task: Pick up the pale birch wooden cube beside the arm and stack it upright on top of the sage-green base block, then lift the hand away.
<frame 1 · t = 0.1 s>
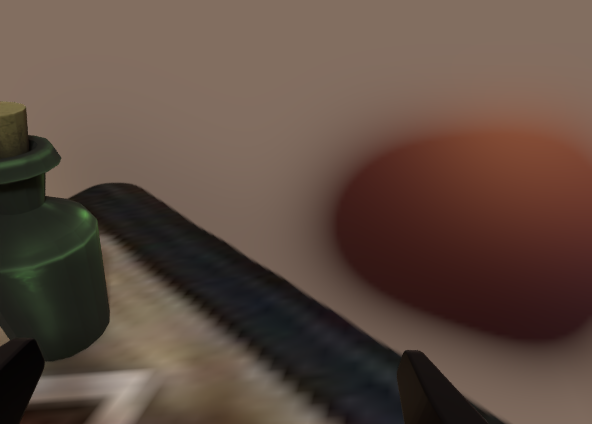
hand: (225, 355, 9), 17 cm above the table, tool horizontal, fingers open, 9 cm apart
potion bottle: (67, 331, 29), on the table
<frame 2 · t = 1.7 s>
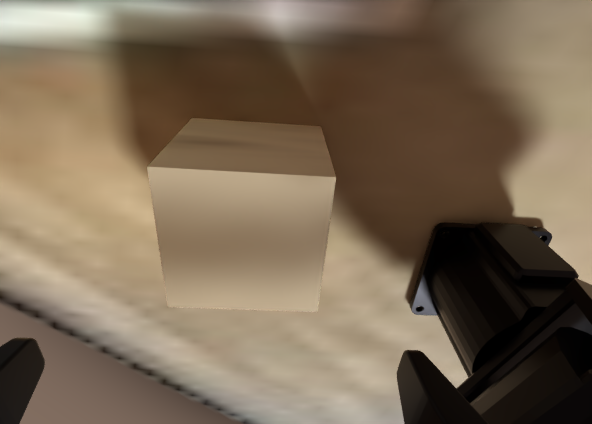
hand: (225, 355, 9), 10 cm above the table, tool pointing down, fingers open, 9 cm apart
birch cube: (256, 180, 18), on the table
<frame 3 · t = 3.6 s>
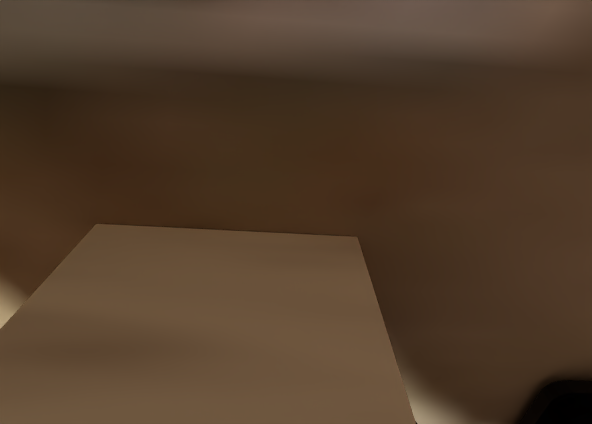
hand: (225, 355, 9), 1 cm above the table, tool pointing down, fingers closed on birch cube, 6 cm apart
birch cube: (231, 322, 10), on the table, touching gripper
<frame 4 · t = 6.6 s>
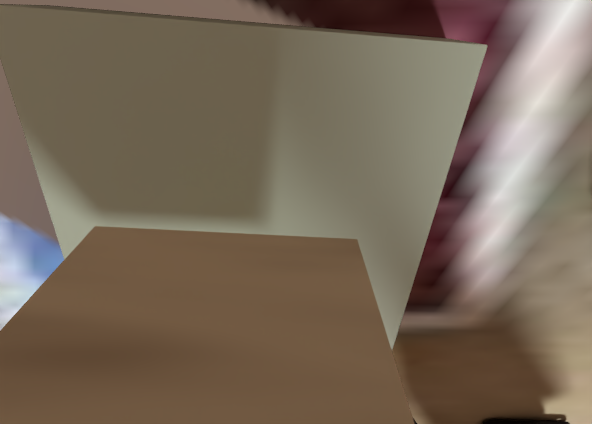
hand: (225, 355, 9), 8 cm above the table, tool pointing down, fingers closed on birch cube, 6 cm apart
sage base block: (252, 197, 16), on the table
birch cube: (231, 324, 10), point 7 cm above the table, touching gripper
when the fingers open (5 cm above the table, at t = 7.9 s): birch cube drops 1 cm, resting on sage base block.
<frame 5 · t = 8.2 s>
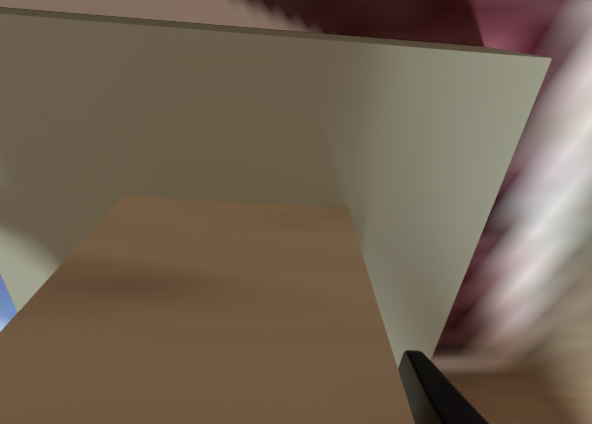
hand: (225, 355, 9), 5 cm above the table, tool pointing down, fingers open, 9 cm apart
sage base block: (247, 232, 13), on the table
birch cube: (238, 287, 11), point 3 cm above the table, touching sage base block
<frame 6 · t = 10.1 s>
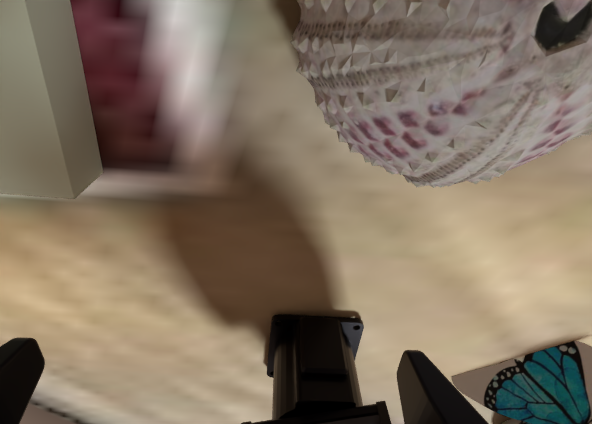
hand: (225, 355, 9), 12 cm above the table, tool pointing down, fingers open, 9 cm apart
decorative butterfly: (528, 373, 30), on the table
sea urchin shell: (438, 15, 16), on the table
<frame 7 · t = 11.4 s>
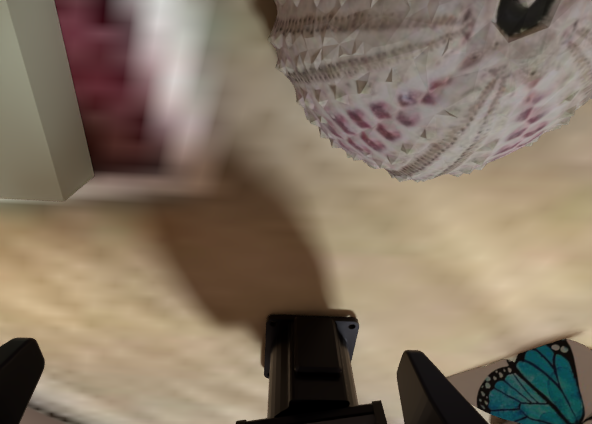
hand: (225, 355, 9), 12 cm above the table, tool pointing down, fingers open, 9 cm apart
decorative butterfly: (523, 373, 29), on the table
sea urchin shell: (418, 11, 16), on the table
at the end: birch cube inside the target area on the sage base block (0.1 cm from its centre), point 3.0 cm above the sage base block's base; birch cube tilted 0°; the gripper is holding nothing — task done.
